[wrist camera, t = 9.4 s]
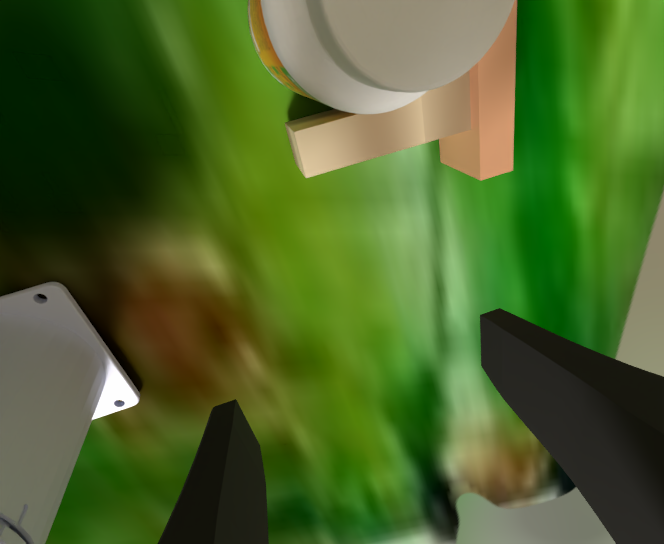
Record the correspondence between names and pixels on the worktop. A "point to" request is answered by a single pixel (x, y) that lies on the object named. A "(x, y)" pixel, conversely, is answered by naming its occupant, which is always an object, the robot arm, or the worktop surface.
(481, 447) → the worktop surface
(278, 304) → the worktop surface
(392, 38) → the supplement bottle
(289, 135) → the slot block
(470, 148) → the rail
